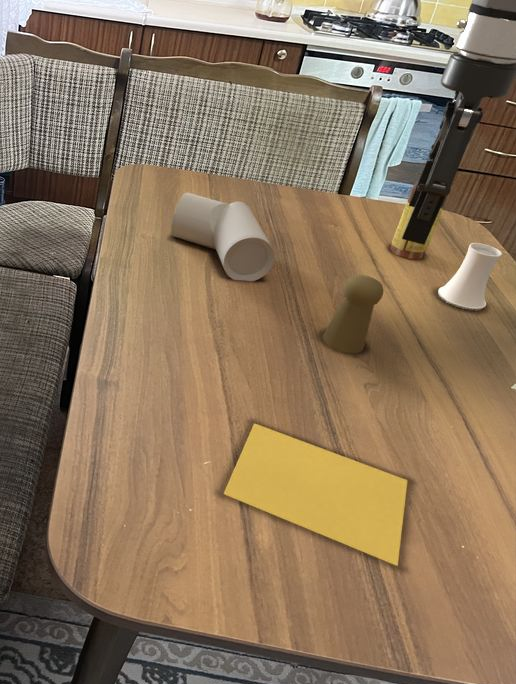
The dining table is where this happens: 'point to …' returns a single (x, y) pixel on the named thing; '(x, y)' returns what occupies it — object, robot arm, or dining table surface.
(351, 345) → the cork
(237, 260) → the bent grey cylinder
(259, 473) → the yellow cloth
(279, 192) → the dining table surface
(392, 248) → the sauce bottle
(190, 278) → the dining table surface
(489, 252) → the vase
